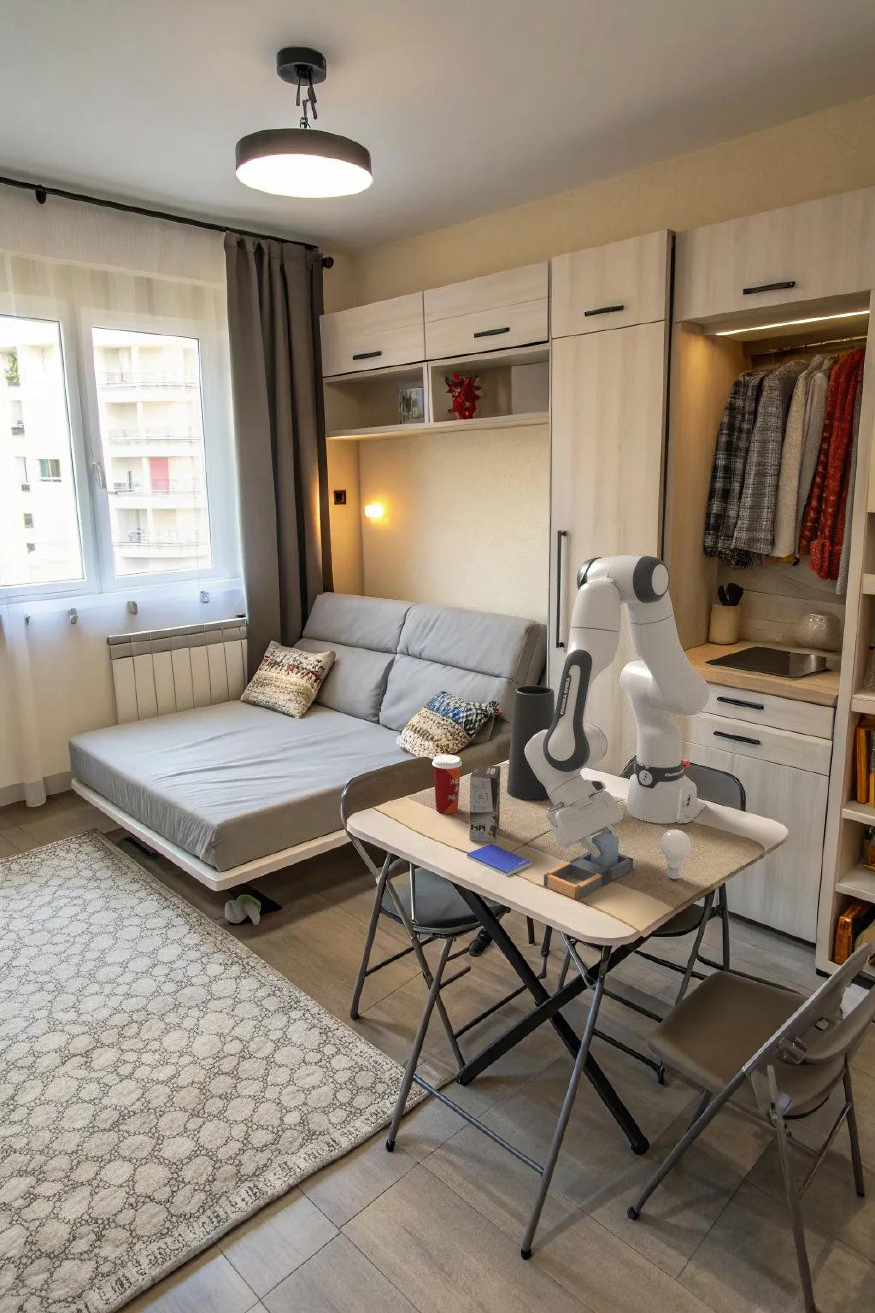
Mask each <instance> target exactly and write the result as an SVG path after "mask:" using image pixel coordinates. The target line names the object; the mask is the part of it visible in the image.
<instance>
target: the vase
mask: <svg viewBox="0 0 875 1313" xmlns="http://www.w3.org/2000/svg"><path fill="white" fill-rule="evenodd" d="M555 710H556V705H555V690H554V689H553V688H552V687H549V686H543V685H529V684H528V685H522V686H518V687H515V688H514V694H513V706H512V718H511V728H510V730H511V731H510V742H509V744H510V745H509V755H508V768H507V769H508V770H507V781H506V782H507V783H506V784H507V785H506V793H507V794H508V795H509V796H510V797H513V798H515V799H518V800H522V801H527V802H528V801H529V802H533V801H534V802H535V801H537V802H538V801H546V800H551V799H550V798H549V796H548V794H547V791H546V788H545V787H544V785H543V784H542V783H541V782H540V781H539V780H538V779H537V777H536V775H535V774H534V772H533V770H532V769H531V767H530V765H529V763H528V761H527V758H526V756H525V746H526V744H527V742H528V741H529V740H530V739H531V738H532V737H533V736H534V735H535V734H537V733H538V732H540V731H542V730H549V728H550V726H551V724H552V722H553V719H554V715H555Z"/></svg>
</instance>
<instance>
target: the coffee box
mask: <svg viewBox="0 0 875 1313" xmlns="http://www.w3.org/2000/svg"><path fill="white" fill-rule="evenodd" d="M469 778H470V779H469V780H470V783H469V832H468V833H469V834H468V835H469V836H468V838H469V840H470V841H476V842H486V843H487V842H488V843H494V842H495V841H496V839H497V836H498V832H499V830H500V818H501V817H500V816H501V814H500V813H501V812H500V811H501V810H500V809H501V806H500V804H501V801H500V800H501V765H488V764H487V765H486V764H484V765H482V764H481V765H480V764H475V766H474V768H473V770H472V772H471V774H470V777H469Z"/></svg>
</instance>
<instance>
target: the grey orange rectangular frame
mask: <svg viewBox="0 0 875 1313" xmlns="http://www.w3.org/2000/svg"><path fill="white" fill-rule="evenodd" d="M633 868H634V858H633V857H630V856H627V855H624V854H622V853H619V852H618V864H616V865H615V866H613V867H611V868H609V869H608V868H605V867H603V866H600V865H598V864H595V863H592V862H591V852H590V851H589V850H588V851H587V852H585V853H583V854H581V855H579V856H577V857H576V858H573V859H571V860H569V861H565V862H563V863H561V864H559V865H557V866H555V867H554V868H551V869H549V870H548V871H546V872H545V873H544V874H543V886H545V887H547V888H549V889H551V890H553V891H556V892H558V893H560V894H563V895H565V896H567V897H570V898H572V899H574V900H576V901H580V900H581V899H584V898H585V897H587V896H589V895H591V894H593V893H594V892H596V891H597V890H599V889H601V888H603V887H604V886H606V885H608V884H610V883H612V882H613V881H615V880H617V879H619V878H620V877H622V876H624V875H625V873H626V874H627V873H630V872H631V871H632V870H634V869H633ZM569 876H573V877H574V878H577V879H580V880H583V881H581V882H579V883H578V884H574V883H572V882H569V881H568V880H565V878H567V877H569ZM586 895H587V896H586ZM583 897H584V898H583Z"/></svg>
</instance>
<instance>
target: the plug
mask: <svg viewBox="0 0 875 1313" xmlns="http://www.w3.org/2000/svg"><path fill="white" fill-rule="evenodd" d="M591 839H592V840H591V842H592V843H593V844H595V845H596V846H597V847H598V846H600V848H601V850H602V851H603V854H601V855H600V856H598V857H596V858H595V857H594V856H593V855H592V853H591V862H592V863H595V864H598V865H600V866H603V867H605V868H608V869H609V868H611V867H613V866H615V865H616V864H618V853H619V848H620V847H619V845H620V836H617V835H615V836H614V835H611V834H609V833H606V832H602V831H601V832H599V834H598V833H597V834H595V835H593V836H591Z"/></svg>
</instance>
